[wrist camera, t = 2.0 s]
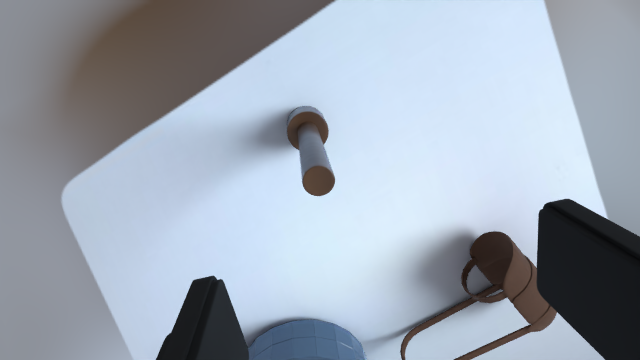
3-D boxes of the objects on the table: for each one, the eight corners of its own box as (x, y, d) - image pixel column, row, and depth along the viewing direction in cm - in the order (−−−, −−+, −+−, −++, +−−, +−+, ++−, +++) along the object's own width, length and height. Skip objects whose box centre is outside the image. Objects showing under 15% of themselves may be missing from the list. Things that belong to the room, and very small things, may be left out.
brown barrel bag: (491, 216, 38) (532, 250, 32) (540, 279, 42) (586, 321, 36) (365, 311, 42) (378, 359, 35) (420, 362, 45) (442, 414, 39)
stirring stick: (288, 144, 34) (287, 212, 20) (286, 106, 32) (284, 150, 18) (325, 143, 34) (350, 209, 20) (325, 105, 33) (352, 148, 19)
